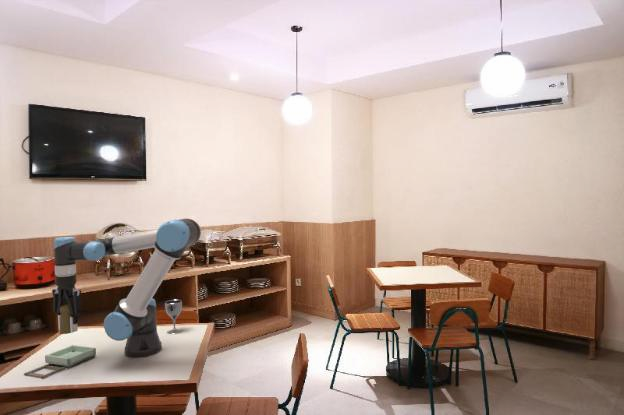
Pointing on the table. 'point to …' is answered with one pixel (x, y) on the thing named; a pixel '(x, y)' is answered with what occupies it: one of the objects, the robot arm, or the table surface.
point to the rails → (48, 366)
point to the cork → (65, 319)
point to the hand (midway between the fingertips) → (68, 330)
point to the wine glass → (173, 312)
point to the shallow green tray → (70, 355)
